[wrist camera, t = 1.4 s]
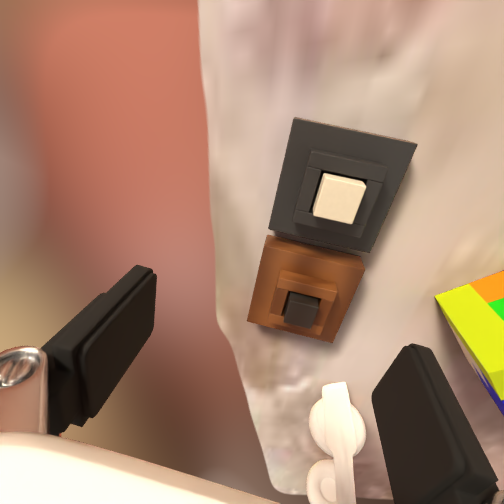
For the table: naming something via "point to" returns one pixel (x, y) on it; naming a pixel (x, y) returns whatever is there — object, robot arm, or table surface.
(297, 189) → the block black
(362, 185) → the key ivory
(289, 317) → the key ebony
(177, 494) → the robot arm
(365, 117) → the table surface
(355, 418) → the headset
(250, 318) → the block walnut
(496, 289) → the puzzle toy
